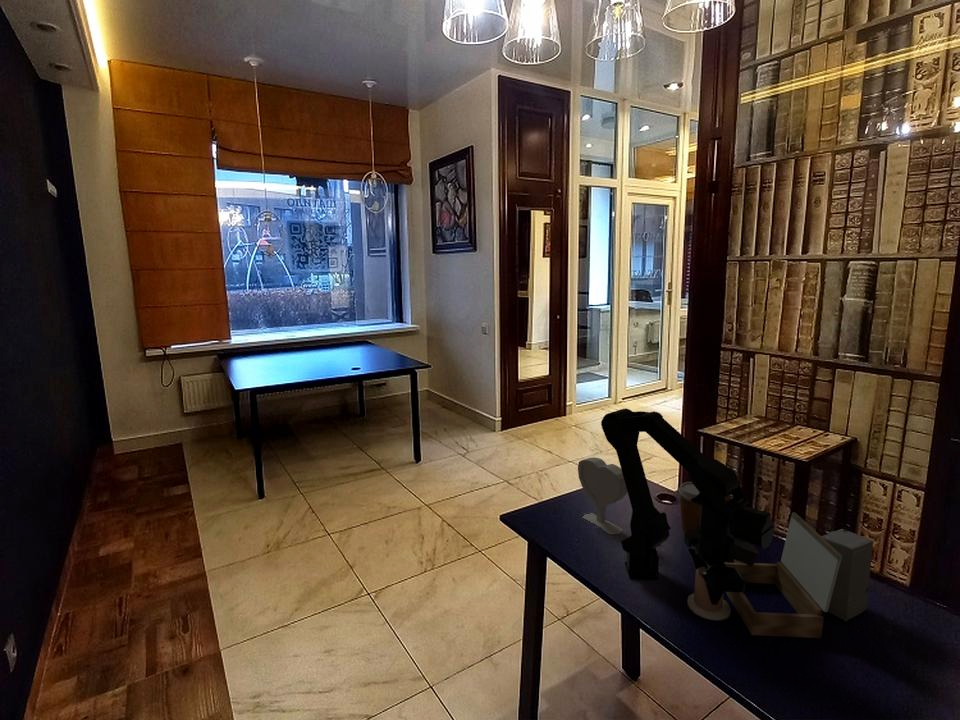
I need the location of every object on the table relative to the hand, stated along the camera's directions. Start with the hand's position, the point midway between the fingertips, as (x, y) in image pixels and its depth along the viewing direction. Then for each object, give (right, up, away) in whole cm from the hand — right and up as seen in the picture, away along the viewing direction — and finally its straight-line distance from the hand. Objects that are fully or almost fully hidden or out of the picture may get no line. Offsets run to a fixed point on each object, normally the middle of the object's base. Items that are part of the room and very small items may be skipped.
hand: (709, 595), depth 109 cm
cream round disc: (0, -3, +1) cm, 3 cm away
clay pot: (0, -2, 0) cm, 2 cm away
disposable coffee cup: (+10, +3, +32) cm, 34 cm away
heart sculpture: (-15, +4, +36) cm, 39 cm away
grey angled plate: (+19, +9, -2) cm, 21 cm away
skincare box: (+28, -3, 0) cm, 28 cm away
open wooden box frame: (+13, -3, 0) cm, 14 cm away
